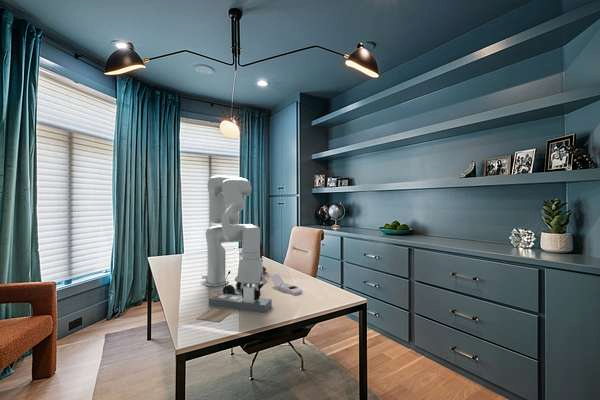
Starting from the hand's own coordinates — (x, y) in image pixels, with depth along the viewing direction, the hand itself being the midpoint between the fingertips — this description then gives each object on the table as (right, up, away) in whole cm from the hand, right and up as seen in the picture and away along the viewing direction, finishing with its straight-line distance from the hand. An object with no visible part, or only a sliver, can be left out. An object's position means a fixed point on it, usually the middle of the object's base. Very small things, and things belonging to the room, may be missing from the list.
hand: (250, 297), depth 114 cm
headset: (-8, -5, +17) cm, 20 cm away
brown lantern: (-8, -5, +56) cm, 57 cm away
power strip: (-5, -5, +1) cm, 7 cm away
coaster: (-13, -5, -8) cm, 16 cm away
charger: (0, -4, 0) cm, 4 cm away
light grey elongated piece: (+14, -5, +24) cm, 28 cm away
